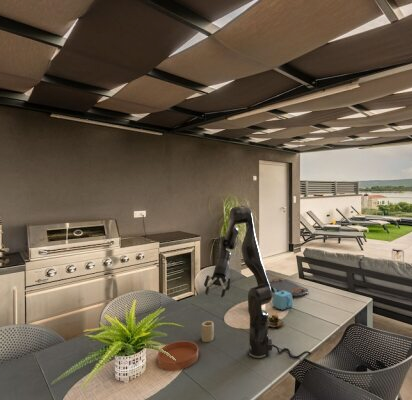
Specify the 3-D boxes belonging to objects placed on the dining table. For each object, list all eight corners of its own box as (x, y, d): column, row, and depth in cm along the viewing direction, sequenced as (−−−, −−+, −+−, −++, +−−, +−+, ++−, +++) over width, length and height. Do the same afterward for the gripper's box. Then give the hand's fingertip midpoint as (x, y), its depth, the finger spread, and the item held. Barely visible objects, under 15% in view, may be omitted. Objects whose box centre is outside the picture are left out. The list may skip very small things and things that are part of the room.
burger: (260, 321, 170) (261, 309, 170) (278, 319, 174) (278, 307, 174) (267, 330, 159) (267, 317, 159) (286, 327, 163) (286, 315, 163)
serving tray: (262, 286, 238) (262, 278, 238) (283, 281, 251) (284, 275, 251) (289, 300, 206) (289, 292, 206) (312, 294, 218) (312, 287, 218)
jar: (214, 336, 152) (214, 320, 152) (212, 342, 146) (212, 326, 146) (202, 336, 151) (202, 321, 151) (200, 342, 145) (200, 326, 145)
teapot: (279, 300, 205) (279, 285, 205) (296, 308, 191) (296, 292, 191) (266, 304, 197) (266, 288, 197) (283, 313, 183) (283, 296, 183)
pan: (201, 347, 140) (201, 340, 140) (194, 369, 122) (194, 361, 122) (164, 348, 139) (165, 341, 139) (152, 371, 121) (152, 363, 121)
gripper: (208, 263, 158) (200, 291, 148) (232, 267, 157) (226, 295, 147) (210, 268, 164) (203, 296, 154) (234, 272, 163) (227, 299, 153)
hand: (214, 295), depth 151 cm, fingers open, 8 cm apart
